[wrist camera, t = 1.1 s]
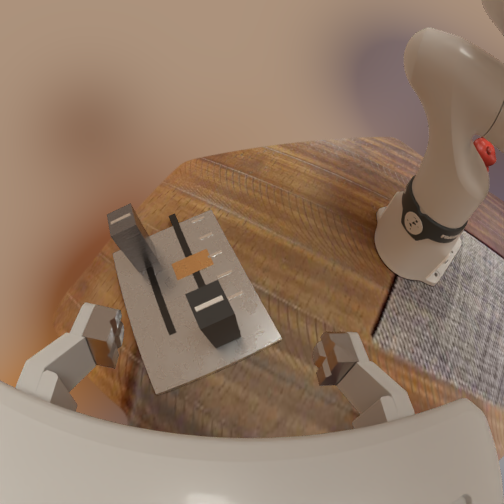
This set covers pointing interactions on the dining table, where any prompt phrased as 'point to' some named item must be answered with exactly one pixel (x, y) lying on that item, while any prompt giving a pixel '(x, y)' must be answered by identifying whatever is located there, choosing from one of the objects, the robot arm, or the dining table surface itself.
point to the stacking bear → (485, 151)
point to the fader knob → (214, 314)
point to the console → (183, 297)
